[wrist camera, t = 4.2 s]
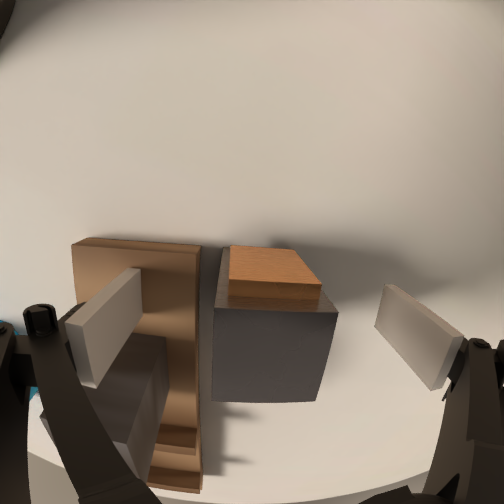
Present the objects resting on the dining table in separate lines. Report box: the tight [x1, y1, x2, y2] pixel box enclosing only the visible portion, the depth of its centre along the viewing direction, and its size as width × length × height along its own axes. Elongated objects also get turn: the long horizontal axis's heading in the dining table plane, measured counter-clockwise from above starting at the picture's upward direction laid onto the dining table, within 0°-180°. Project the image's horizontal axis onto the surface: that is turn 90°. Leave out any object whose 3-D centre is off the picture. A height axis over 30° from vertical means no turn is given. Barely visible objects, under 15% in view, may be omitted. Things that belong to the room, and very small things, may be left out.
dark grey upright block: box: [212, 245, 339, 403], centre depth 13 cm, size 5×4×8 cm
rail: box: [40, 238, 203, 494], centre depth 14 cm, size 24×7×10 cm, turn 175°
